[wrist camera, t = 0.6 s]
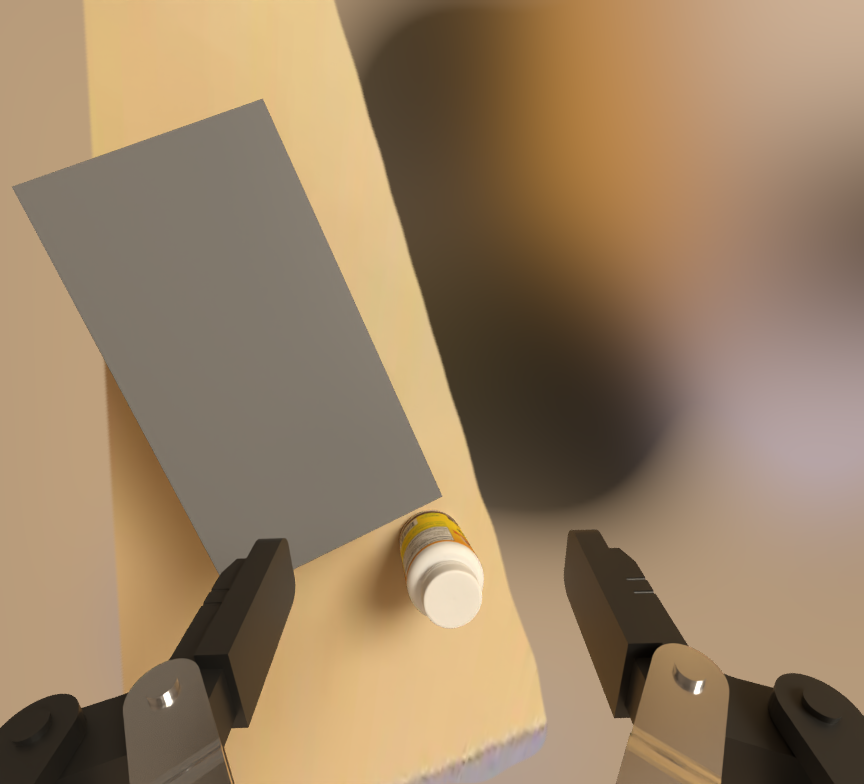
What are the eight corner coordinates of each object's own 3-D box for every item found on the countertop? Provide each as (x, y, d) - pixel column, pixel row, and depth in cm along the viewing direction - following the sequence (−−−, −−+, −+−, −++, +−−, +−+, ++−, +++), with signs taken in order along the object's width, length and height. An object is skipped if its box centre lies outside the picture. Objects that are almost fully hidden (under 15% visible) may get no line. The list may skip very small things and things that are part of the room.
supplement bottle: (463, 562, 39) (498, 632, 28) (402, 574, 38) (416, 650, 28) (456, 502, 38) (489, 551, 28) (394, 513, 37) (405, 567, 27)
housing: (158, 261, 33) (12, 186, 19) (303, 205, 35) (262, 98, 21) (288, 519, 36) (241, 615, 22) (418, 458, 37) (449, 512, 24)
